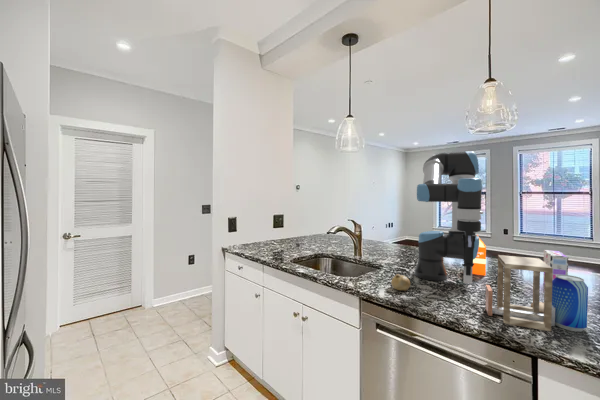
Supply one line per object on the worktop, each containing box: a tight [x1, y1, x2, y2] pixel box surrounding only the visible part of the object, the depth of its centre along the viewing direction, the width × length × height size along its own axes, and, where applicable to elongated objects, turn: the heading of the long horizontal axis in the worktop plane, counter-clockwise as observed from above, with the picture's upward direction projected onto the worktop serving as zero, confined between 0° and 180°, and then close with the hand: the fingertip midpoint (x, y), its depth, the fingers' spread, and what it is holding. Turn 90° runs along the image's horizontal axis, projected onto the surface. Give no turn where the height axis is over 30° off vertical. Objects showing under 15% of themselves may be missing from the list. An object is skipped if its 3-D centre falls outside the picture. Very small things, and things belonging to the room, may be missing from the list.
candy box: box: [543, 249, 569, 285], centre depth 123 cm, size 14×6×16 cm, turn 148°
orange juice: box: [472, 234, 487, 276], centre depth 150 cm, size 8×9×20 cm
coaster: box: [530, 301, 544, 314], centre depth 102 cm, size 11×11×1 cm
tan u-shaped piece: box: [485, 284, 556, 327], centre depth 96 cm, size 18×7×9 cm, turn 63°
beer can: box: [552, 274, 589, 332], centre depth 90 cm, size 8×8×16 cm
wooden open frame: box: [496, 254, 553, 332], centre depth 95 cm, size 12×14×20 cm
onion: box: [391, 273, 411, 292], centre depth 124 cm, size 8×8×7 cm
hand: (467, 282), depth 103 cm, fingers closed
